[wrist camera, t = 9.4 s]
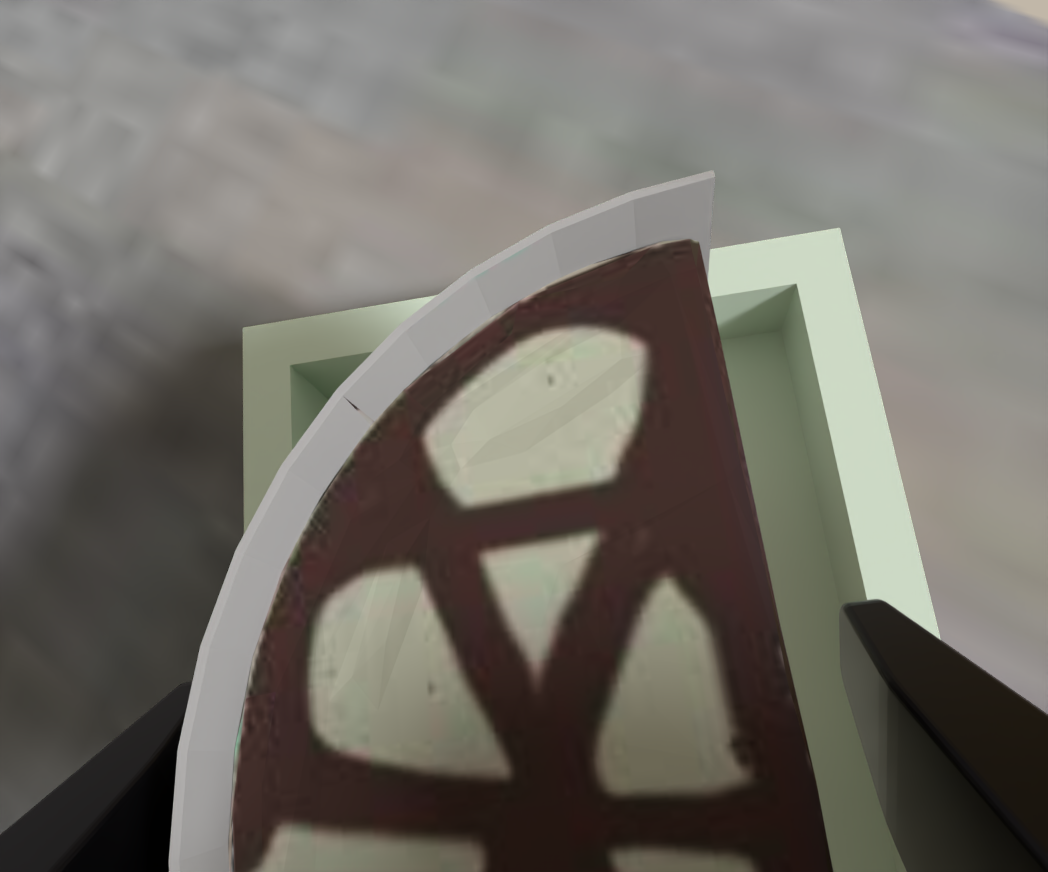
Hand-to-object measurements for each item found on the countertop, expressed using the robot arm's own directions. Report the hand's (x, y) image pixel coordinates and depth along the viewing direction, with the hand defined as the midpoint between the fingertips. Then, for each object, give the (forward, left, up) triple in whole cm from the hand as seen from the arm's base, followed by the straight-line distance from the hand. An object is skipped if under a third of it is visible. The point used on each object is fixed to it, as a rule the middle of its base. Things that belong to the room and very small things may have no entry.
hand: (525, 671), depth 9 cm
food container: (-1, 0, -8) cm, 8 cm away
